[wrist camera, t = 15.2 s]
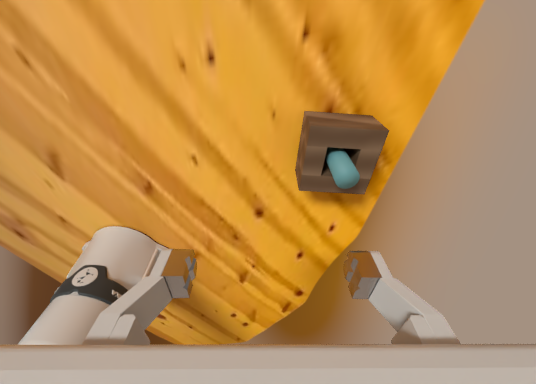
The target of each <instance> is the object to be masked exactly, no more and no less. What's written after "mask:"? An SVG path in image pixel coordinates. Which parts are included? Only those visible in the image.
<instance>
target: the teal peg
mask: <svg viewBox="0 0 536 384" xmlns="http://www.w3.org/2000/svg"><path fill="white" fill-rule="evenodd" d="M325 159H326V162H327V164H328V166H329V169H330V171H331V174H332V176H333V178H334V181H335V183H336V185H337V186H338V187H339V188H342V189H348V188H351V187H353V186H355V185H356V184H357V183H358V181H359V179H360V175H359V172H358V171H357V169H356V167H355V166H354V164H353V163H352V161H351V159H350V158H349V156H348V154H347V153H346V151H345V149H344V148H332V147H328V148H327V152H326V156H325Z"/></svg>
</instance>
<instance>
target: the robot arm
mask: <svg viewBox="0 0 536 384" xmlns="http://www.w3.org/2000/svg"><path fill="white" fill-rule="evenodd" d="M82 250H83V253H82V254H81V256H80V257H79V258H78V260H77V261H76V263H75V264H74V266H73V267H72V269H71V270H70V272H69V274H68V275H67V279H66V280H65V281H64V282H63V283H62V285H61V286H60V287H58V289H57V290H56V291H55V293H54V295H53V296H52V298H51V300H50V304H49V306H48V307H47V308H46V310H45V311H44V312H43V313H42V315H41V316H40V317H39V318H38V320H37V321H36V322H35V323H34V325H33V326H32V327H31V329H30V330H29V331H28V332H27V333H26V335H25V336H24V337H23V338H22V340H21V341H20V342H19V344H18V345H0V384H536V344H460V342H459V340H458V339H457V337H456V336H455V334H454V332H453V331H452V329H451V328H450V326H449V324H448V323H447V321H446V320H445V318H444V316H443V315H442V314H441V313H440V312H438V311H437V310H436V309H435V308H433V307H432V306H431V305H430V304H428V303H427V302H426V301H424V300H423V299H422V298H421V297H419V296H418V295H417V294H416V293H414V292H413V291H412V290H410V289H409V288H408V287H407V286H405V285H404V284H403V283H402V282H400V281H399V280H398V279H396V278H393V277H392V275H391V273H390V271H389V269H388V267H387V265H386V263H385V261H384V260H383V258H382V256H381V254H380V253H379V252H378V251H349V252H348V254H347V257H348V259H347V260H346V261H345V262H344V275H345V278H346V280H348V281H349V282H350V283H349V286H348V287H349V290H350V293H351V296H352V298H353V299H369V301H370V302H371V303H372V304H373V306H375V308H376V309H377V310H378V311H379V312H380V313H381V314H382V315H383V316H384V318H385V319H386V320H387V321H388V322H389V323H390V324H391V325H392V326H393V328H394V329H395V330H396V331H397V334H396V335H395V336H394V337H393V339H392V340H391V343H392V344H362V345H361V344H353V345H352V344H349V345H348V344H344V345H343V344H335V345H334V344H328V345H327V344H326V345H325V344H321V345H320V344H318V345H317V344H315V345H314V344H313V345H312V344H308V345H305V344H304V345H303V344H298V345H297V344H295V345H294V344H292V345H289V344H285V345H149V344H150V340H149V338H148V337H147V335H146V333H145V332H144V330H145V329H146V328H147V327H148V326H149V325H150V324H151V322H152V321H153V320H154V319H155V318H156V317H157V316H158V315H159V313H160V312H161V311H162V310H163V309H164V308H165V307H166V306H167V305H168V303H169V302H170V301H171V300H172V298H189V297H190V293H191V290H192V286H193V285H192V280H193V279H194V278H195V276H196V271H197V261H196V259H195V258H194V255H195V253H194V250H190V249H168V248H166V247H164V246H162V245H160V244H157V243H156V242H154V241H153V240H152V239H150V238H149V237H148V236H146V235H144V234H142V233H140V232H138V231H136V230H133V229H130V228H125V227H117V226H112V227H105V228H102V229H100V230H98V231H97V232H96V233H95V234H94V236H93V238H92V240H91V241H89V242H87V243H85V244H84V246H83V247H82Z"/></svg>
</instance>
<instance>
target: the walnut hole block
mask: <svg viewBox="0 0 536 384" xmlns="http://www.w3.org/2000/svg"><path fill="white" fill-rule="evenodd" d="M388 132H389V130H388V129H387V128H385V127H384V126H383V125H382V124H381V123H380V122H378V121H377V120H376V119H375V118H374V117H373V116H368V115H354V114H339V113H325V112H310V111H305V112H304V118H303V125H302V131H301V137H300V144H299V150H298V157H297V163H296V169H295V171H296V177H297V182H298V188H299V191H317V192H334V193H352V194H365V191H366V189H367V186H368V184H369V181H370V178H371V176H372V173H373V171H374V168H375V166H376V163H377V160H378V158H379V155H380V153H381V150H382V148H383V145H384V143H385V140H386V137H387V135H388ZM328 147H332V148H344V149H345V151H346V153H347V154H348V156H349V158H350V159H351V161H352V163H353V164H354V166H355V167H356V169H357V171H358V172H359V175H360V179H359V181H358V183H357V184H356V185H355V186H353V187H351V188H348V189H342V188H339V187H338V186H337V185H336V183H335V181H334V178H333V176H332V174H331V171H330V169H329V166H328V164H327V162H326V159H325V156H326V152H327V148H328Z"/></svg>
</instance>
